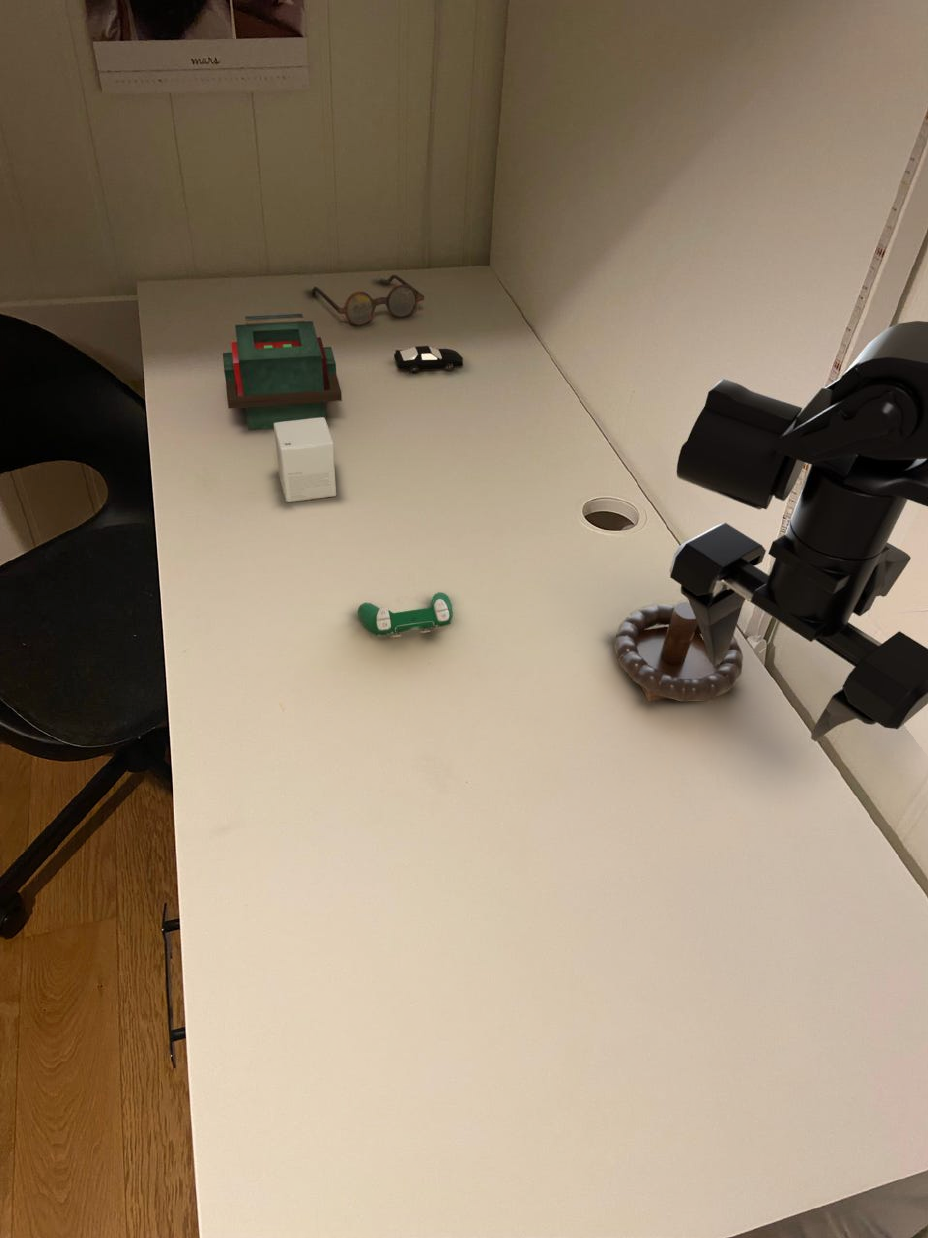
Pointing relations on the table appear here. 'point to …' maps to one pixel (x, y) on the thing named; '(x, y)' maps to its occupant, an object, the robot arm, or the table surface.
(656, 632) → the peg stand
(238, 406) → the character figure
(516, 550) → the table surface
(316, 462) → the product box
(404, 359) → the toy car
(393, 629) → the gaming controller
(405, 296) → the eyeglasses
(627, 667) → the ring
